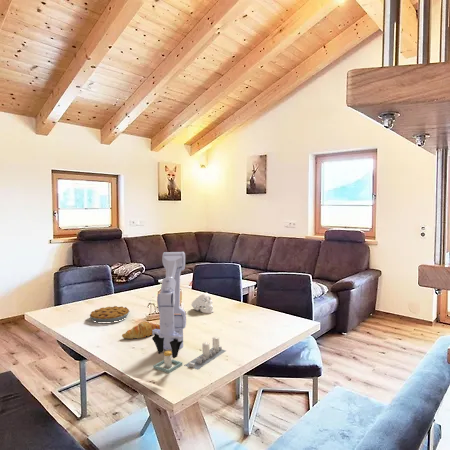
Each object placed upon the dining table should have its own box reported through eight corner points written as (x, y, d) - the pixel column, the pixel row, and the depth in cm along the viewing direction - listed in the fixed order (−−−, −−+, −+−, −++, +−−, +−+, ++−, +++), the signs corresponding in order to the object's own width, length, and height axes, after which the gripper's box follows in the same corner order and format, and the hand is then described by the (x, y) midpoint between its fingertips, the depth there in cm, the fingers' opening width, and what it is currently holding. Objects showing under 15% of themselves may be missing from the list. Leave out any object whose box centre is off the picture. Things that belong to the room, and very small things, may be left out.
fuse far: (211, 351, 159) (211, 338, 159) (215, 349, 162) (214, 336, 161) (217, 353, 158) (216, 339, 157) (220, 350, 160) (220, 337, 160)
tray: (153, 369, 144) (153, 365, 144) (167, 362, 151) (167, 357, 151) (169, 375, 140) (168, 370, 140) (182, 366, 147) (182, 362, 147)
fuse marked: (162, 367, 145) (162, 352, 145) (168, 364, 148) (167, 350, 148) (168, 369, 144) (167, 354, 143) (173, 366, 146) (173, 352, 146)
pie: (135, 313, 220) (134, 304, 220) (121, 325, 198) (120, 316, 198) (100, 312, 222) (100, 304, 222) (82, 324, 200) (82, 315, 200)
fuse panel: (184, 367, 146) (183, 362, 146) (213, 349, 164) (213, 344, 164) (198, 371, 143) (197, 366, 143) (226, 352, 160) (226, 347, 160)
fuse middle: (201, 358, 153) (200, 344, 152) (205, 355, 155) (205, 341, 155) (207, 359, 151) (206, 345, 151) (211, 357, 154) (210, 343, 153)
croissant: (124, 348, 175) (126, 336, 171) (117, 333, 182) (119, 322, 178) (164, 337, 187) (167, 326, 184) (156, 324, 194) (159, 312, 191)
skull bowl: (208, 313, 212) (200, 294, 216) (194, 321, 220) (186, 303, 224) (220, 308, 220) (211, 290, 224) (206, 317, 228) (198, 299, 232)
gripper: (146, 321, 145) (147, 354, 146) (174, 328, 137) (175, 363, 138) (158, 316, 151) (159, 348, 152) (186, 322, 143) (186, 356, 144)
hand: (167, 355), depth 146 cm, fingers open, 7 cm apart
